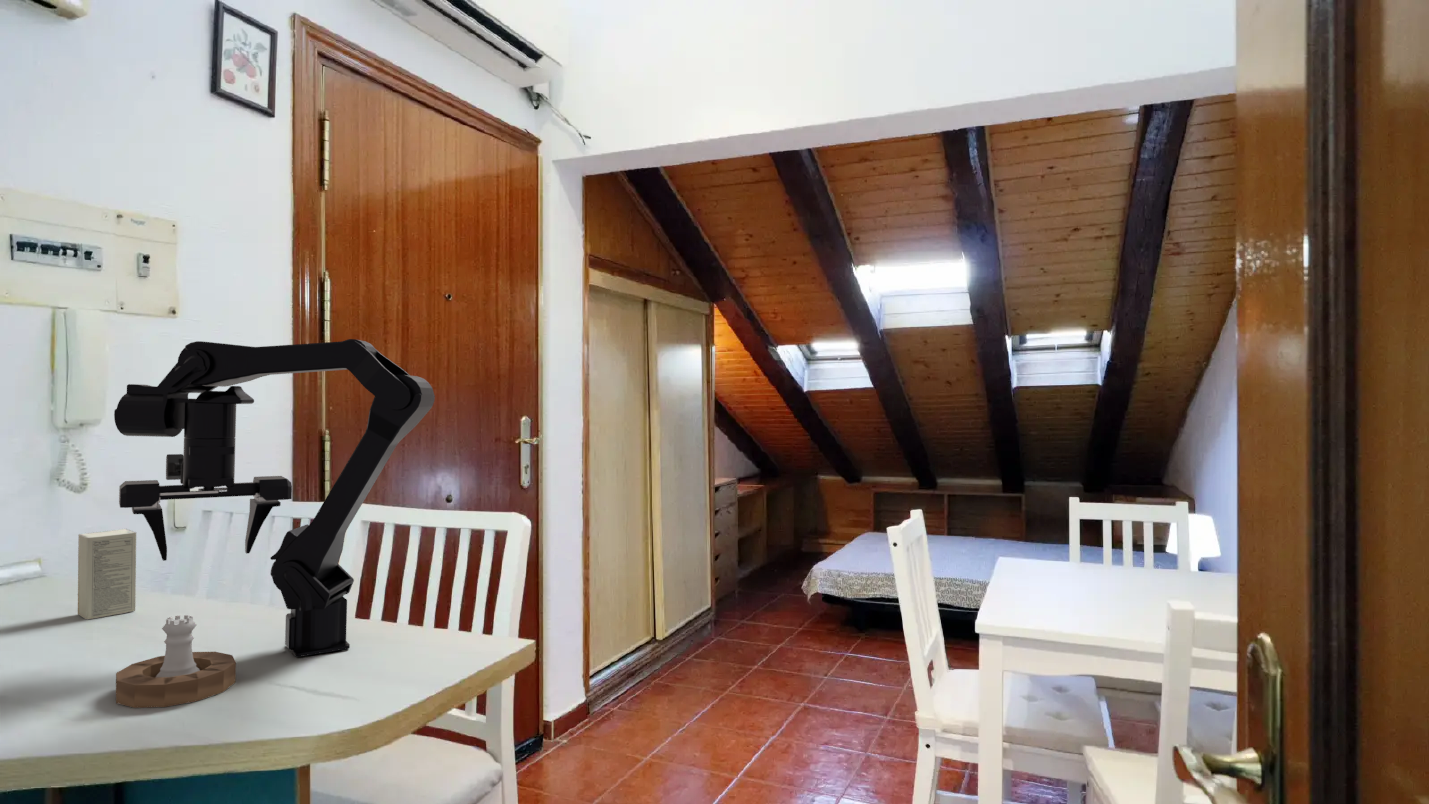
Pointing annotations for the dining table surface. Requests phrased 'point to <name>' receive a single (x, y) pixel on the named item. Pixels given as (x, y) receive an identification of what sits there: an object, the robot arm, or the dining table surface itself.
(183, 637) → the rook chess piece
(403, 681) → the dining table surface
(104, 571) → the skincare box
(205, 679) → the walnut bead ring
